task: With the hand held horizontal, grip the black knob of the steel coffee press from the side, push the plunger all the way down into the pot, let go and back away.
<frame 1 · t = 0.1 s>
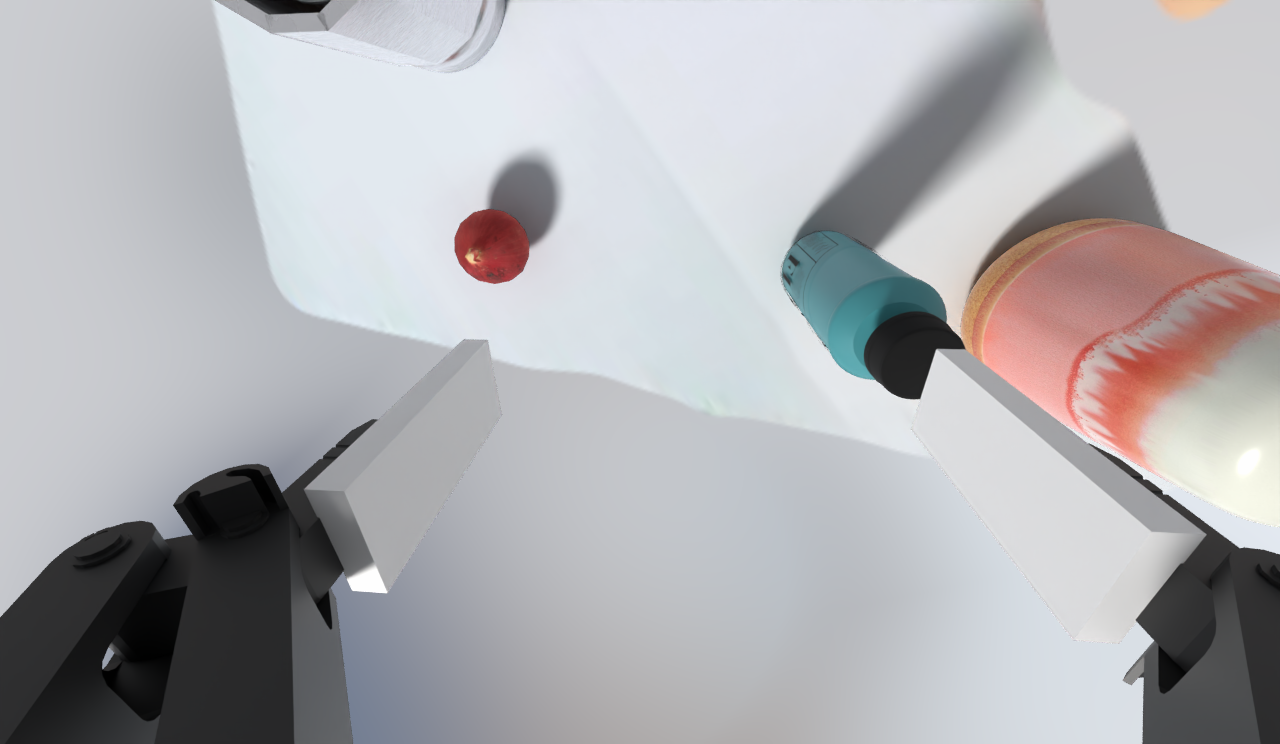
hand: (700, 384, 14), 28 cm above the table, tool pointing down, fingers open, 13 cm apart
beverage bottle: (814, 263, 39), on the table
onion: (509, 238, 40), on the table
vase: (1036, 299, 39), on the table
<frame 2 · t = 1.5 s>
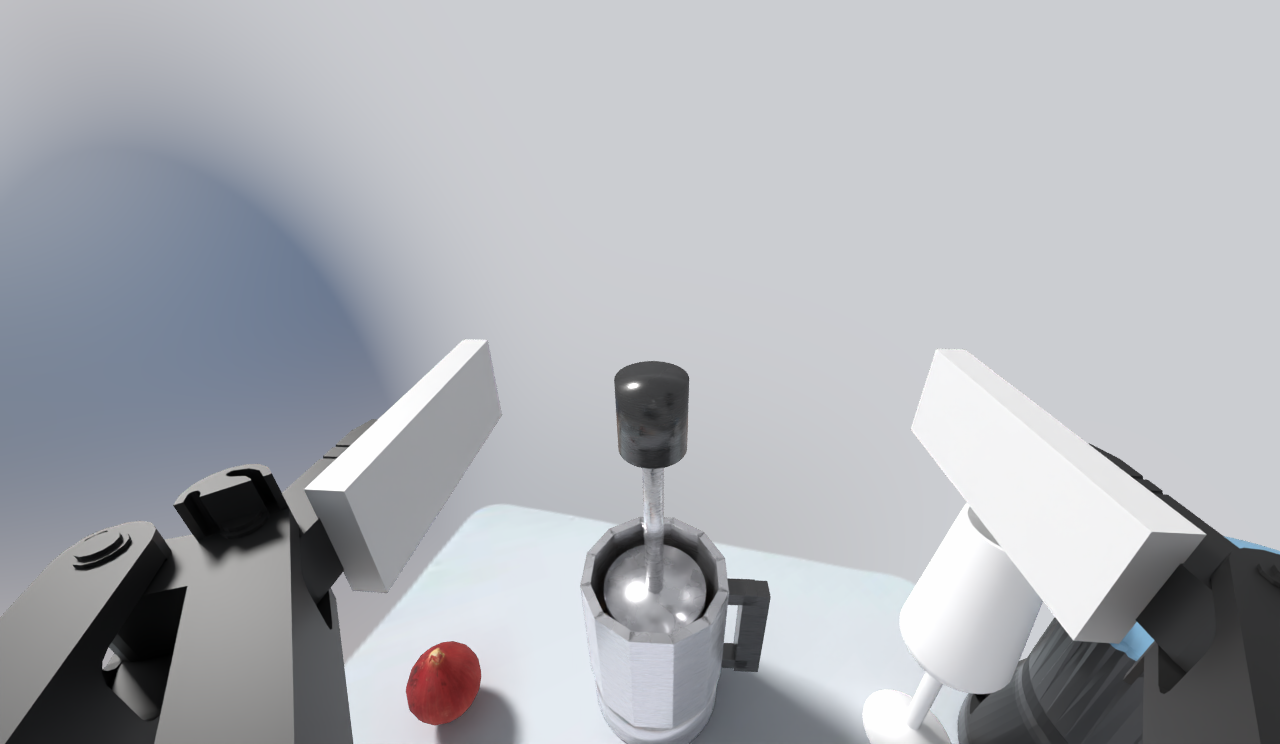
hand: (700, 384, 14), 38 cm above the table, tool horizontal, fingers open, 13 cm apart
press pot: (656, 680, 42), on the table
champagne flute: (905, 734, 38), on the table
onion: (454, 705, 40), on the table
plunger: (653, 500, 31), point 22 cm above the table, slide at 0.0 cm
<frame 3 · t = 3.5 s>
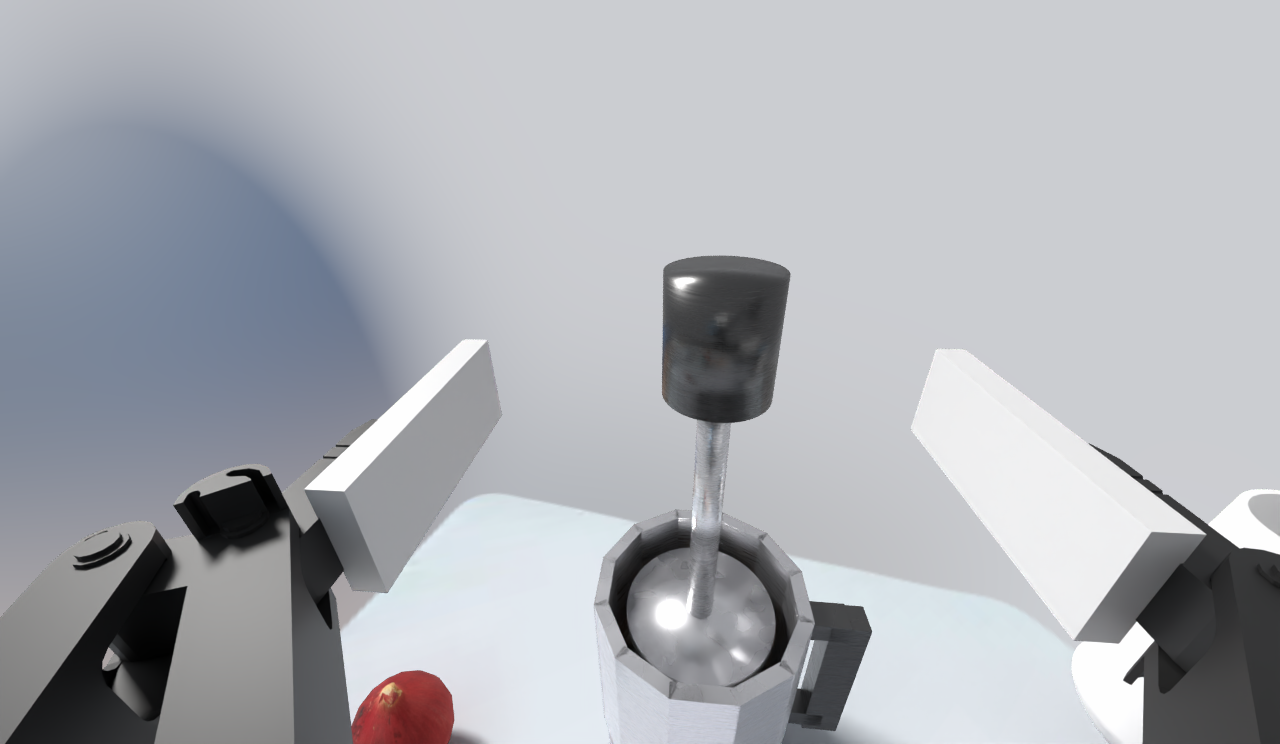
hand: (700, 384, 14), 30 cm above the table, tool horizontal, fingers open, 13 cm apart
press pot: (690, 731, 31), on the table
plunger: (709, 481, 20), point 22 cm above the table, slide at 0.0 cm
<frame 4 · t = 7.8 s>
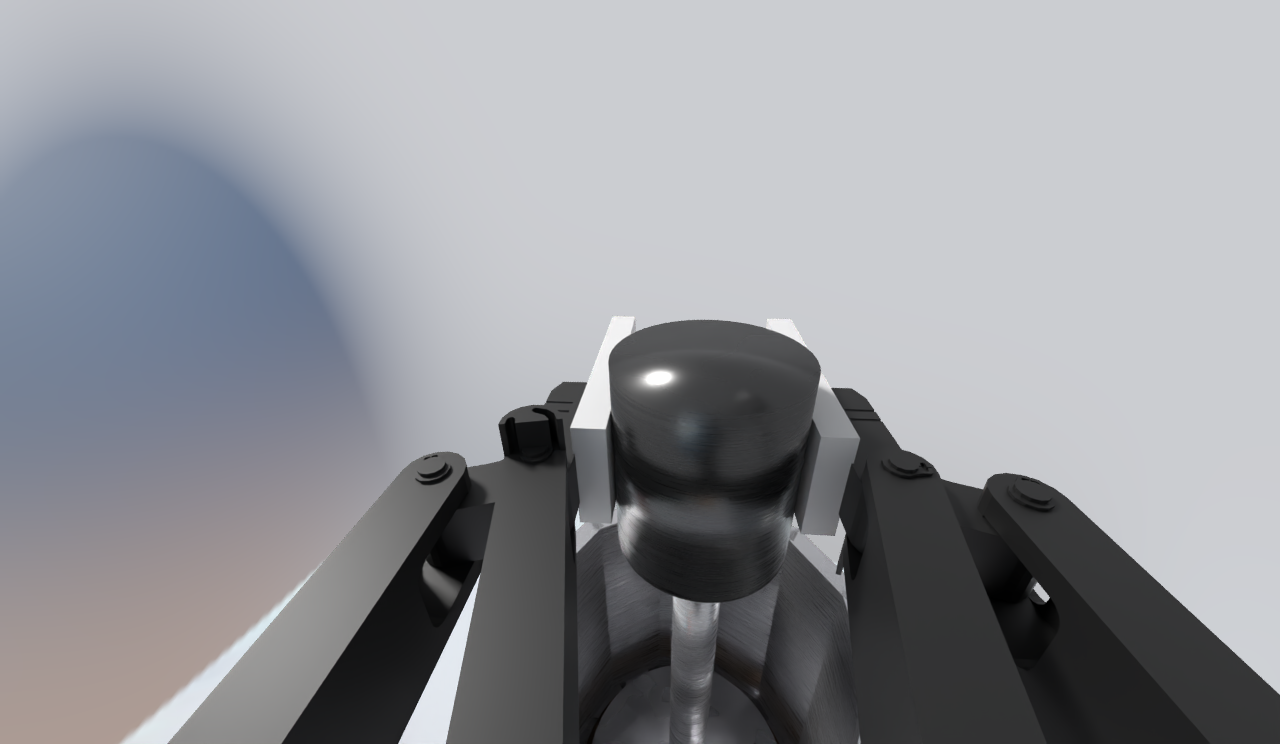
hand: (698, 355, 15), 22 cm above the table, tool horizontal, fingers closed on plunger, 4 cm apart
plunger: (694, 634, 14), point 14 cm above the table, slide at 7.9 cm, touching gripper
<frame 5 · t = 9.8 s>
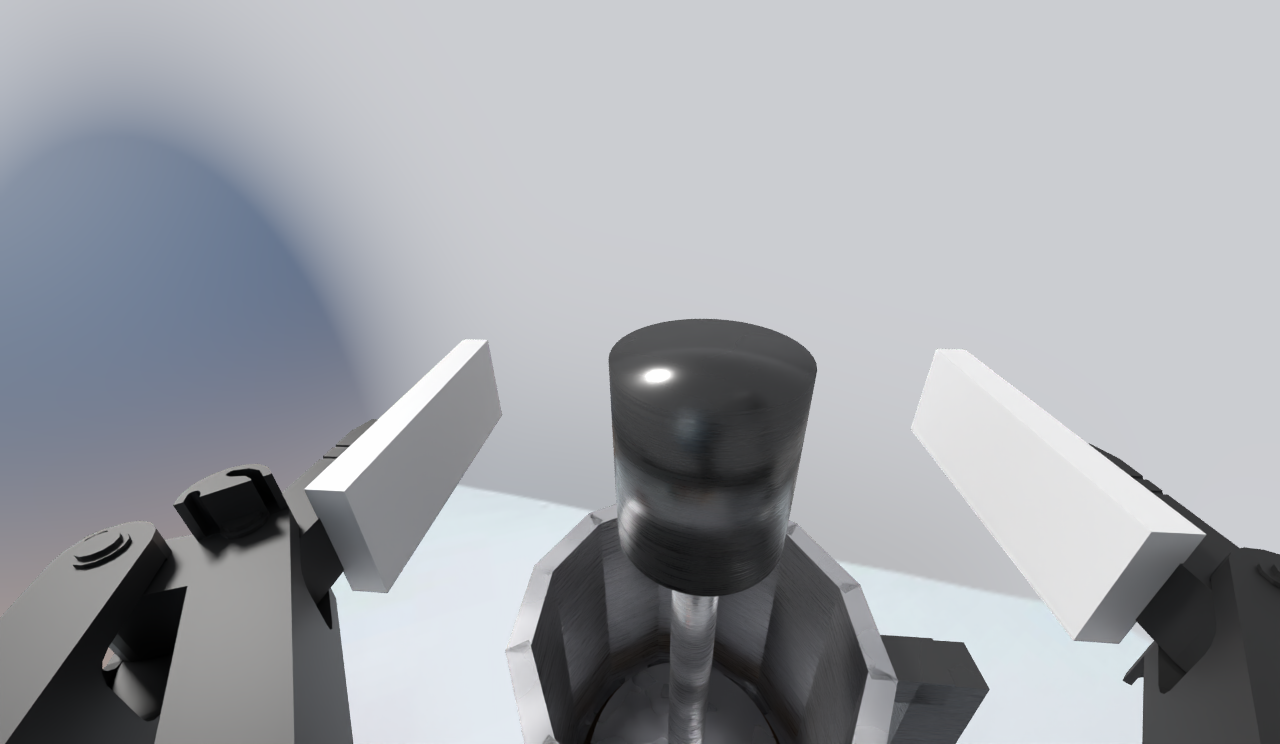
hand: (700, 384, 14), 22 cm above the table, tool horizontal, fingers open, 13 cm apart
plunger: (692, 629, 14), point 14 cm above the table, slide at 8.0 cm
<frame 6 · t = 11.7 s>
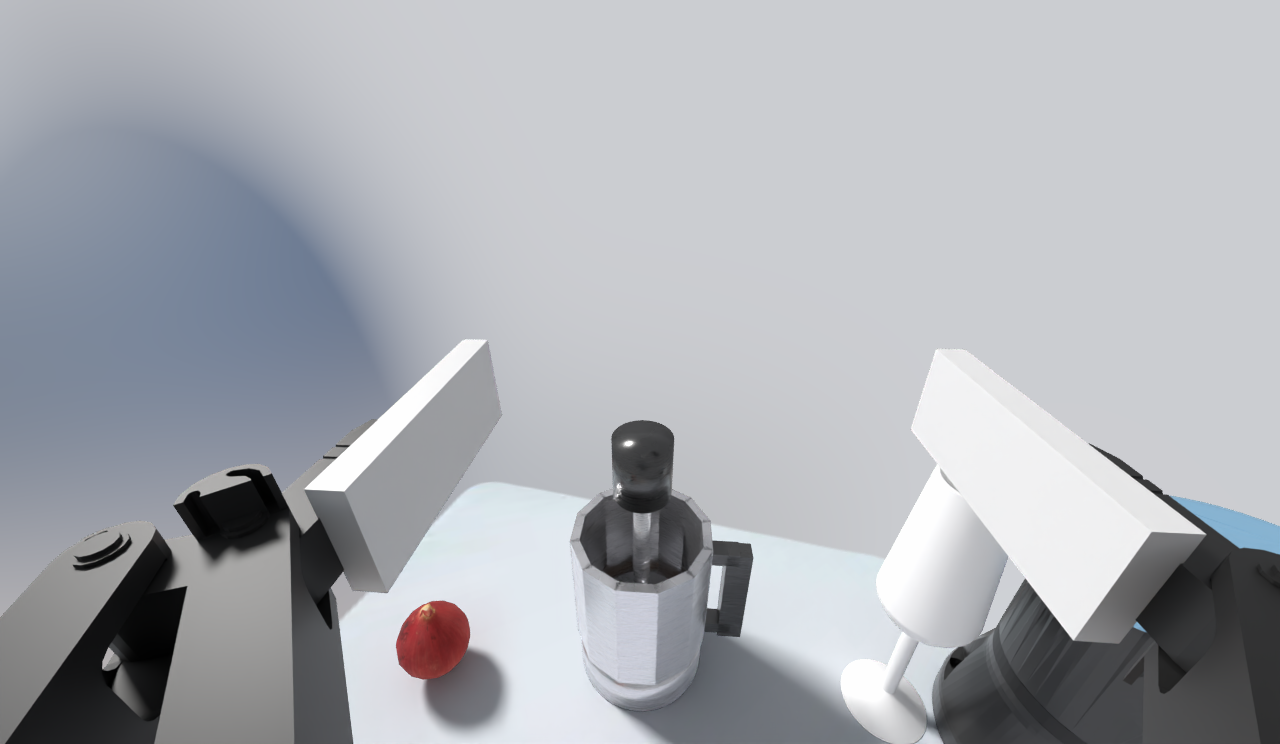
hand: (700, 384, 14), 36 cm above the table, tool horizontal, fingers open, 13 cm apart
press pot: (641, 645, 43), on the table
champagne flute: (881, 700, 39), on the table
onion: (443, 665, 41), on the table
plunger: (642, 537, 36), point 14 cm above the table, slide at 8.0 cm
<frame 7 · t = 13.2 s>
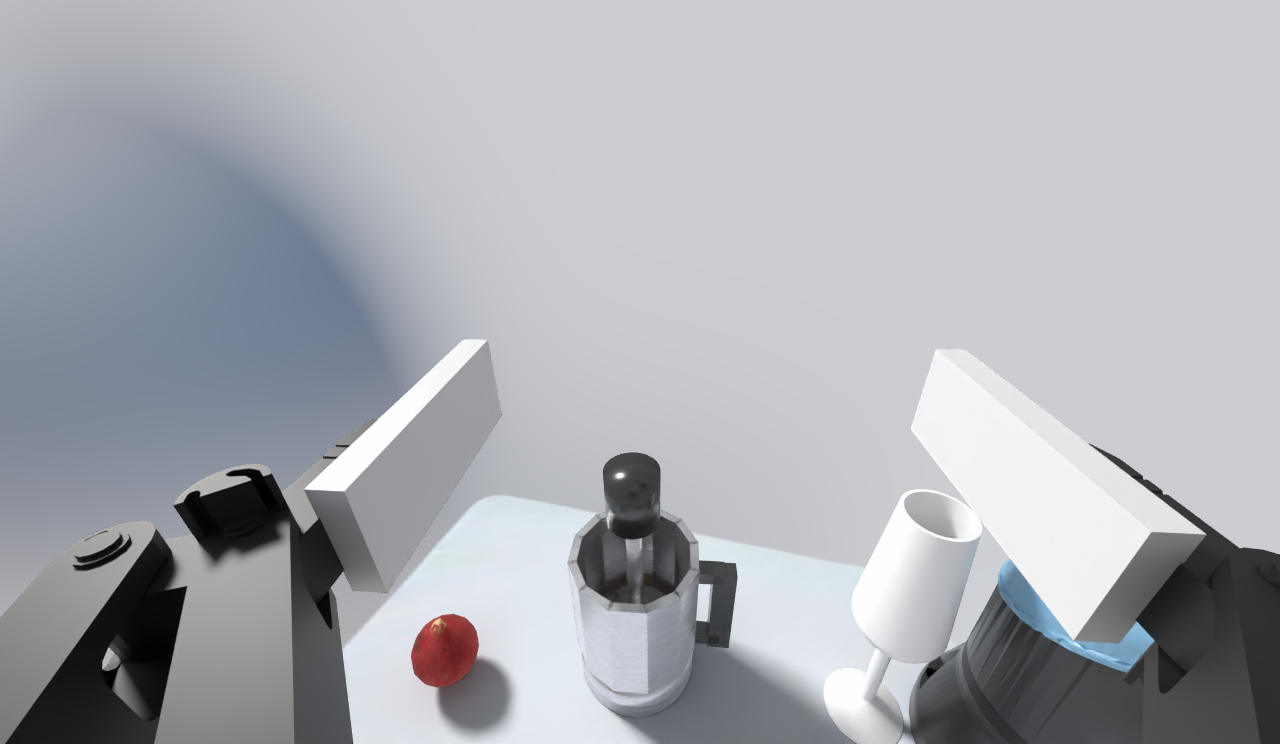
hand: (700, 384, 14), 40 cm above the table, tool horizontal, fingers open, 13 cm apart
press pot: (637, 654, 46), on the table
champagne flute: (861, 707, 41), on the table
onion: (454, 673, 45), on the table
plunger: (634, 557, 39), point 14 cm above the table, slide at 8.0 cm
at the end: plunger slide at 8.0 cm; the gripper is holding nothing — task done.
